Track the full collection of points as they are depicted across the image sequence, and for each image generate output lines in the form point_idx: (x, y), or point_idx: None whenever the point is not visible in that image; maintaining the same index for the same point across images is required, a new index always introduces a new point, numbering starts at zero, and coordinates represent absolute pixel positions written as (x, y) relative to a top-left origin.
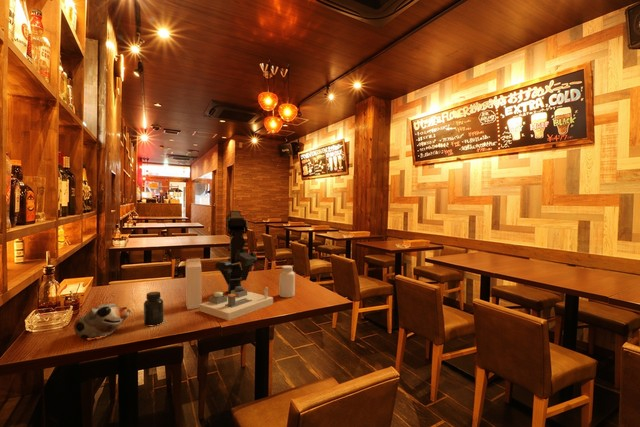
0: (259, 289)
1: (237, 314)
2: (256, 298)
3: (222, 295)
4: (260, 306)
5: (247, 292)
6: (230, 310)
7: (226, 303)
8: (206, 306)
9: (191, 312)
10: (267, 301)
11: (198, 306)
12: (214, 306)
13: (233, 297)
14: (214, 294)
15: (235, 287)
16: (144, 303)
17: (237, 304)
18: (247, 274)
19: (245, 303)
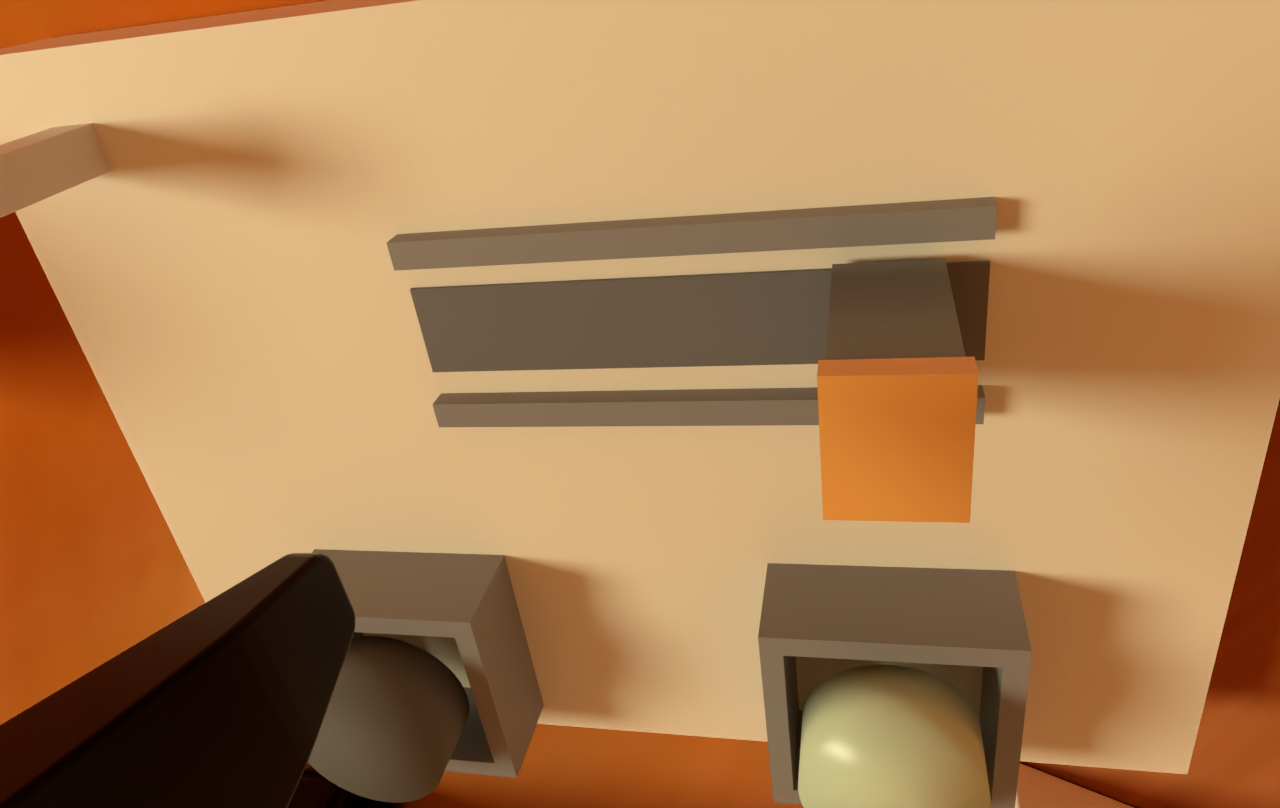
0: (30, 689)
1: None
2: (258, 286)
3: (840, 696)
4: (337, 3)
5: None
6: (1176, 41)
7: None
8: (1219, 632)
9: (1272, 726)
10: (119, 36)
11: (1059, 794)
12: (1141, 526)
13: (893, 346)
14: (989, 799)
15: (429, 781)
16: None
17: (802, 226)
18: (53, 717)
19: (591, 202)
